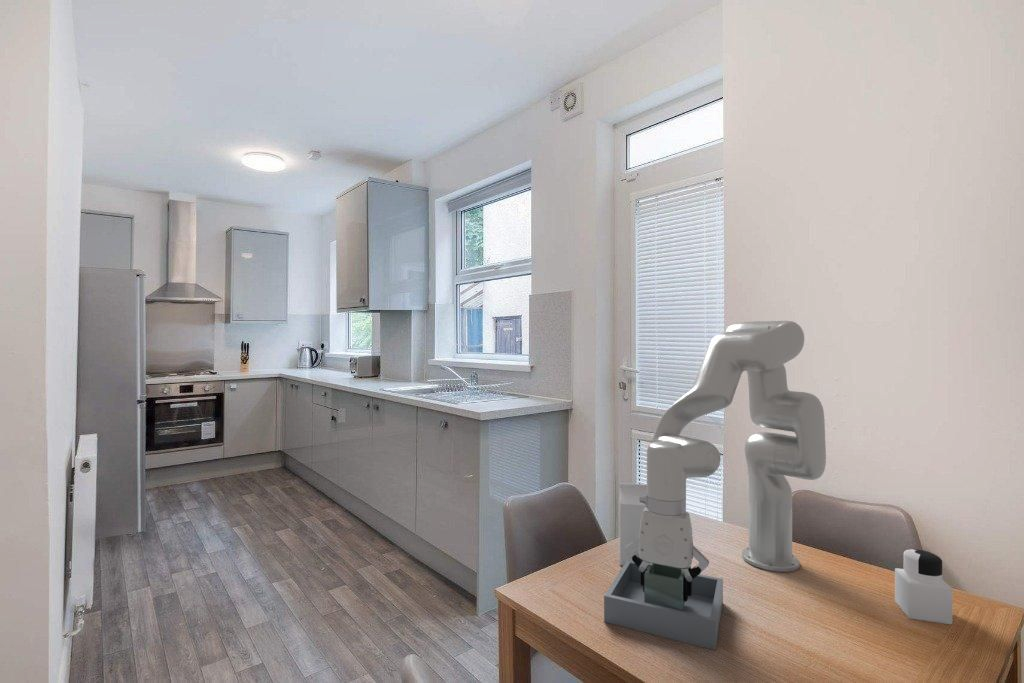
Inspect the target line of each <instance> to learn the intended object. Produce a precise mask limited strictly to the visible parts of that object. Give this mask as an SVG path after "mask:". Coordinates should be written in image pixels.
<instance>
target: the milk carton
mask: <svg viewBox="0 0 1024 683" xmlns="http://www.w3.org/2000/svg"><path fill="white" fill-rule="evenodd" d="M646 494H647V483H646V484H643V483H640V484H639V483H626V482H624V483H623V482H620V483H619V565H620V566H623V565H624V564H625V562H626V560H629V561H633V560H632V558H631V557H630V556H629V554H628V553H627V551H626V550H625V548H626V547H627V545H629V544H630V543H632V542H633V541H635V540H636V539H638V538H639V531H640V522H641V515H642V511H643V509H644V508H646V505H645V504H644V503H642V502H640V501H639V499H640V496H644V495H646ZM635 551H636V553H637V554H638V548H636V549H635ZM649 564H650V563H649Z"/></svg>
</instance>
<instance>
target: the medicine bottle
mask: <svg viewBox="0 0 1024 683" xmlns="http://www.w3.org/2000/svg"><path fill="white" fill-rule="evenodd" d="M902 559H903V564H902V565H903V568H898V567H895V568H894V601H895V603H896V605H897V606H898V607H899V608H900V609H901V610H902V612H903V613H904V615H906V616H907V618H908V619H909V620H918V621H925V622H931V623H937V624H944V625H950V626H951V625H953V588H952V587H951V586H950V584H948V583H947V582H946V581H945V580H943V559H942V558H941V557H940V556H938V555H937V554H935V553H933V552H930V551H927V550H925V549H924V550H923V549H918V548H917V549H915V548H913V549H912V548H911V549H906V550H904V551H903V558H902Z"/></svg>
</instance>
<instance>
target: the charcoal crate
mask: <svg viewBox="0 0 1024 683" xmlns="http://www.w3.org/2000/svg"><path fill="white" fill-rule="evenodd" d="M648 566H649V564H648ZM603 601H604V602H603V603H604V604H603V605H604V606H603V610H604V611H603V622H604V623H607V624H611V625H615V626H620V627H622V628H627V629H631V630H635V631H638V632H642V633H647V634H650V635H655V636H659V637H662V638H666V639H670V640H674V641H678V642H682V643H684V644H685V643H686V644H689V645H693V646H697V647H701V648H704V649H709V650H713V651H717V650H716V649H717V645H718V644H717V643H718V638H719V637H718V636H719V630H720V626H721V616H722V613H723V612H722V611H723V605H724V578H720V577H715V576H710V575H704V574H701V573H700V574H699V575H698V576H696V577H695V578H694V579H692V595H691V596H688V599H687V602H686V601H685V603H684V606H683V610H682V611H679V610H675V609H671V608H666V607H662V606H658V605H653V604H649V603H645V602H644V592H643V586H641V572H640V571H639V568H638V567H637V565H636V564H635V563H634V562H633V561H629V560H626V562H625V564H624V565H622V566H621V569H620V570H619V572H618V573H617V575H615V578H614V579H613V581H612V583H611V585H610V586H609V588H607V591H606V592H605V594H604V596H603Z"/></svg>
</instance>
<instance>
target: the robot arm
mask: <svg viewBox="0 0 1024 683" xmlns="http://www.w3.org/2000/svg"><path fill="white" fill-rule="evenodd" d="M804 345H805V333H804V330H803V328H802V326H800V324H798V323H797V322H795V321H791V320H769V321H768V320H767V321H765V320H763V321H760V320H759V321H758V320H757V321H756V320H755V321H741V322H736V323H733V324H730V325H729V326H728V327H727V328H726V329H725V332H723V333H719V334H716V335H715V336H713V338H711V340H710V341H709V344H708V345H707V348H706V350H705V353H704V356H703V359H702V362H701V364H700V366H699V370H698V372H697V375H696V377H695V380H694V383H693V385H692V388H690V390H689V391H687V392H686V393H684V395H681V397H680V398H678V399H677V400H676V401H675V402H674V403H672V404H671V406H669V407H668V408H667V409H666V410H665V411H664V413H663V414H662V415H661V417H660V419H659V421H658V424H657V426H656V428H655V431H654V434H653V436H652V439H651V443H650V444H648V446H647V449H646V485H647V494H646V495H644V496H640V499H639V501H640V502H642V503H644V504H645V505H646V508H644V509H643V511H642V515H641V522H640V531H639V538H638V539H636V540H635V541H633V542H632V543H630V544H629V545H627V547H626V548H625V550H626V551H627V553H628V554H629V556H630V557H631V558H632V560H633V562H634V563H635V564H636V565H637V567H638V568H639V571H640V572H641V586H643V592H644V579H645V572H646V570H647V568H648V564H649V563H652V564H657V565H662V566H667V567H672V568H678V569H681V570H682V572H683V574H684V576H685V577H684V581H683V600H684V601H686V602H687V599H688V596H691V595H692V579H694V578H695V577H696V576H698V575H699V574H701V573H702V572H703V571H704V570H706V568H707V567H709V564H710V560H709V559H708V558H707V557H706V556H705V555H704V554H703V553H702V552H701V551H700V550H698V548H697V547H696V546H695V545H694V540H693V539H694V537H693V528H692V522H691V516H690V513H689V512H688V511H687V479H689V478H707V477H710V476H712V475H713V474H715V473H716V472H717V470H718V469H719V467H720V464H721V454H720V451H719V449H718V448H717V447H716V446H715V445H714V444H713V443H711V442H709V441H707V440H702V439H700V438H694V437H693V438H692V437H688V436H683V435H681V433H682V432H683V430H684V428H686V426H687V425H688V424H690V423H691V422H692V421H694V420H696V419H697V418H700V417H703V416H706V415H709V414H712V413H715V412H718V411H720V410H723V409H725V408H728V407H730V405H731V404H732V402H733V399H734V397H735V394H736V390H737V388H738V386H739V382H740V379H741V377H742V374H743V372H746V373H747V383H748V397H749V398H748V400H749V401H748V404H749V405H748V406H749V414H750V419H751V421H752V423H753V424H755V425H756V426H759V427H762V428H766V429H770V430H772V429H773V430H779V431H784V432H792V433H794V434H795V435H789V434H782V433H775V432H767V431H759V432H756V433H752V434H751V435H749V437H748V438H747V439H746V440H745V444H744V455H745V460H746V465H747V471H748V472H747V473H748V547H745V548H743V550H742V552H741V553H742V554H741V557H742V559H743V560H744V561H746V563H748V564H750V565H752V566H754V567H756V568H759V569H762V570H766V571H771V572H776V573H778V572H779V573H780V572H781V573H782V572H783V573H786V572H787V573H789V572H794V571H796V570H798V569H799V568H800V560H799V558H798V557H797V556H795V555H794V554H793V492H792V487H791V485H790V483H789V481H788V479H787V478H786V477H792V478H797V479H802V480H806V481H807V480H808V481H815V480H818V479H820V478H821V477H822V476H823V474H824V472H825V469H826V463H827V450H826V449H827V448H826V446H827V445H826V425H825V424H826V423H825V421H826V419H825V411H824V406H823V404H822V402H821V401H820V399H819V398H818V397H817V396H816V395H815V394H813V393H809V392H806V391H805V392H804V391H796V390H794V391H792V390H789V387H788V378H787V370H786V367H785V365H784V364H786V363H788V362H790V361H791V360H793V359H795V358H796V357H797V356H798V355H800V353H801V351H802V350H803V348H804ZM636 548H638V554H637V553H636V551H635V549H636ZM693 559H695V560H697V562H698V564H696V565H695V566H693V567H692V563H693Z"/></svg>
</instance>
